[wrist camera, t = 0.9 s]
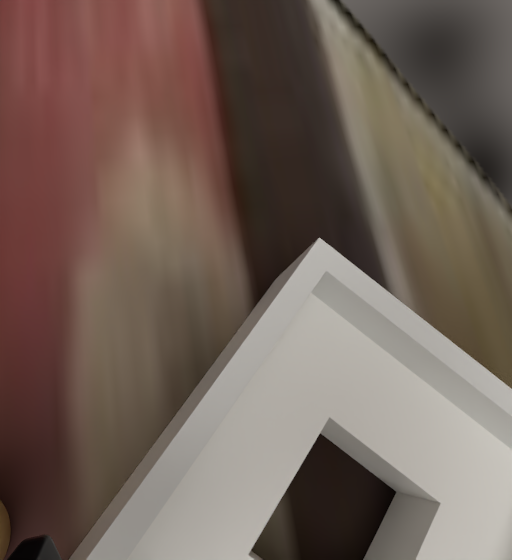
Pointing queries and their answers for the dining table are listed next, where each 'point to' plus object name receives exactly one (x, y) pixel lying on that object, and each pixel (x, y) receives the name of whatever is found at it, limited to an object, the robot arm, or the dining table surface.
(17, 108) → the dining table surface
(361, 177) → the dining table surface
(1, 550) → the peg
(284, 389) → the socket box
